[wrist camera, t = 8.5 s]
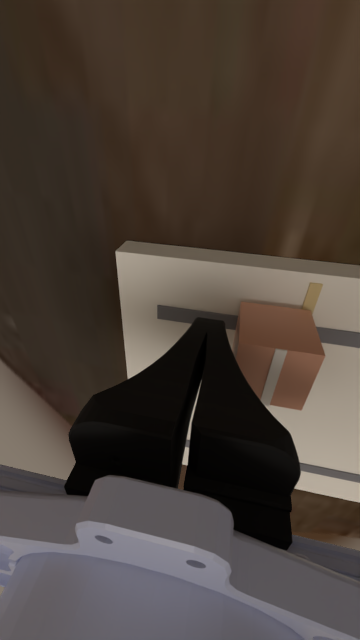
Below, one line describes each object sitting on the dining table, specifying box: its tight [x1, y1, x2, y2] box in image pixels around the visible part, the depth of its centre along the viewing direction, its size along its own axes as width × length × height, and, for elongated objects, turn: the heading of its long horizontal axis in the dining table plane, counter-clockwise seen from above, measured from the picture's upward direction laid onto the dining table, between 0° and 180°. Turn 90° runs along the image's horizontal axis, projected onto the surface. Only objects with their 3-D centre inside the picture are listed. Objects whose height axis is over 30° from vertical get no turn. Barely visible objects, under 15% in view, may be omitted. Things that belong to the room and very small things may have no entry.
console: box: [115, 241, 360, 502], centre depth 17 cm, size 18×17×2 cm
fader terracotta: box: [232, 302, 325, 411], centre depth 12 cm, size 3×3×3 cm
